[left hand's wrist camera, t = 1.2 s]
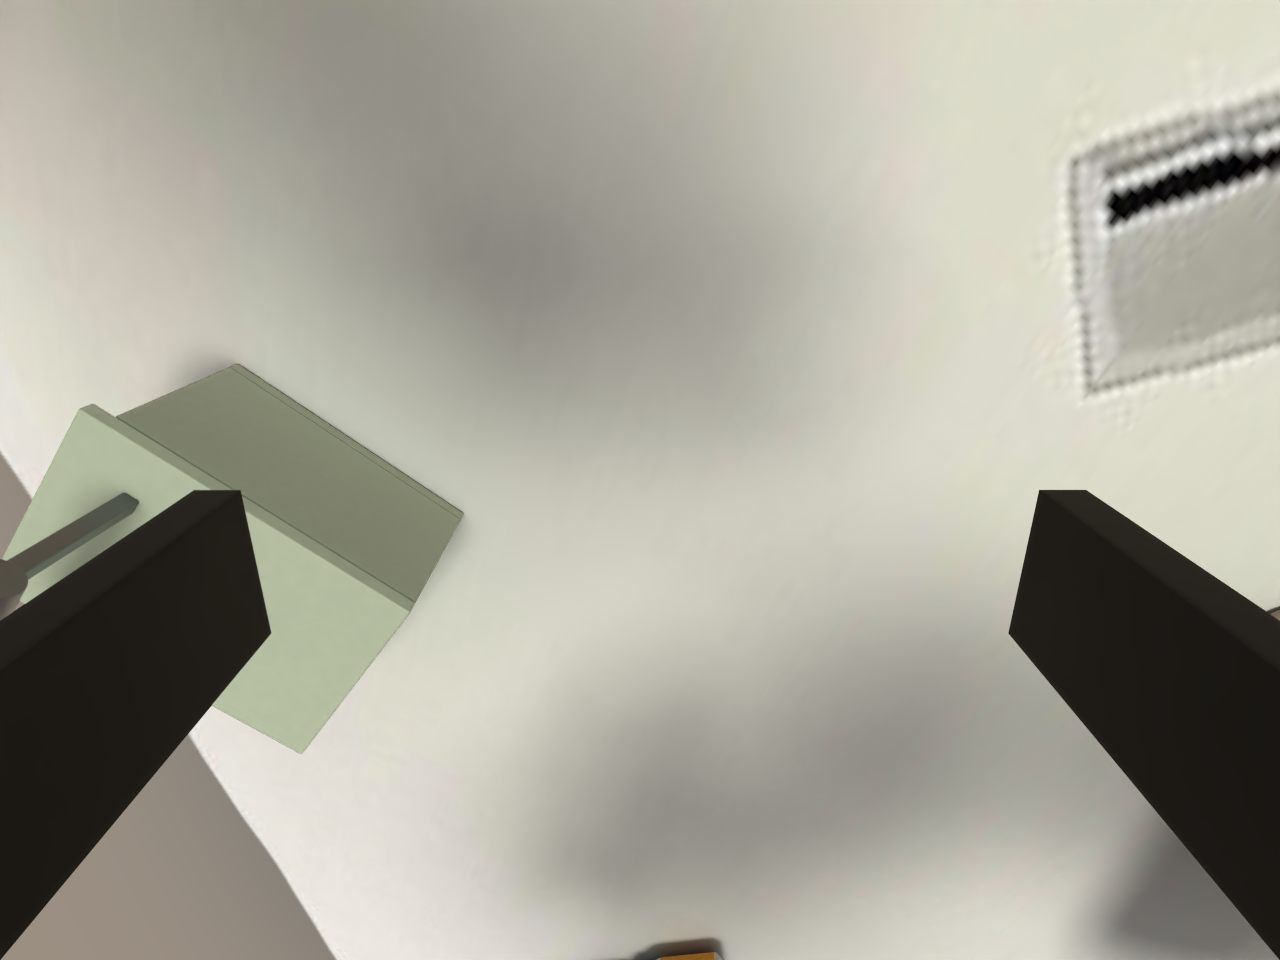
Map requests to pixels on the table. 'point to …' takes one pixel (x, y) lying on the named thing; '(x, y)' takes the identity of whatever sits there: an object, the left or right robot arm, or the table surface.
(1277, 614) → the right robot arm
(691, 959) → the spray gun
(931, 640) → the table surface
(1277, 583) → the table surface
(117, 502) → the lid
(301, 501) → the chest
